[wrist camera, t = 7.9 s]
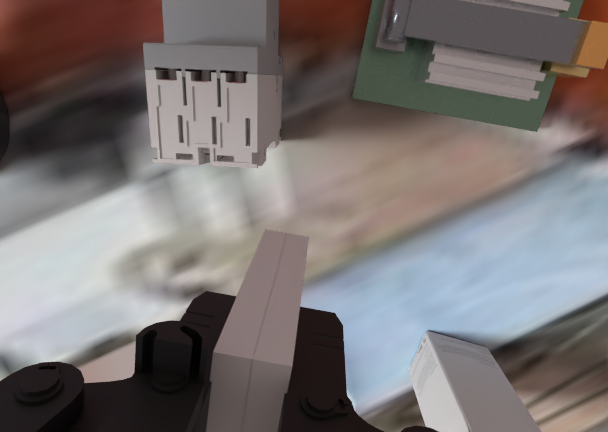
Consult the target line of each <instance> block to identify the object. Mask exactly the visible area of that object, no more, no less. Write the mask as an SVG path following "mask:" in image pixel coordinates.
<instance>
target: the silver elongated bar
mask: <svg viewBox="0 0 608 432" xmlns="http://www.w3.org/2000/svg"><path fill="white" fill-rule="evenodd" d="M405 37H408V38H413V39H419V40H425V41H431V42H436V43H442V44H448V45H454V46H459V47H465V48H471V49H476V50H482V51H488V52H494V53H499V54H505V55H511V56H517V57H522V58H528V59H534V60H540V61H545V62H551V63H557V64H563V65H568V66H574V67H580V68H585V69H591V70H594V69H604V67H605V64H606V61H607V59H608V23H604V22H598V21H588V22H587V21H581V20H575V19H569V18H563V17H557V16H551V15H545V14H539V13H533V12H527V11H521V10H515V9H509V8H503V7H497V6H491V5H485V4H479V3H473V2H467V1H461V0H392V4H391V9H390V13H389V18H388V23H387V27H386V32H385V36H384V40H385V41H389V42H394V43H404V40H405Z"/></svg>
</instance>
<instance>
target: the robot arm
mask: <svg viewBox="0 0 608 432" xmlns="http://www.w3.org/2000/svg"><path fill="white" fill-rule="evenodd" d="M8 137H9V120H8V113H7V109H6V106H5V102H4V100H3V97H2V95H1V93H0V159H1V158H2V156H3V154H4V152H5V149H6V146H7V143H8ZM308 240H309V237H305V236H300V235H294V234H289V233H283V232H278V231H273V230H267V229H265V231H264V233H263V236H262V238H261V240H260V243H259V245H258V247H257V250H256V252H255V255H254V257H253V259H252V262H251V264H250V266H249V269H248V271H247V273H246V276H245V278H244V280H243V283H242V285H241V288H240V290H239V292H238V295H237V297H236V296H231V295H225V294H220V293H214V292H209V291H206V292H204V293H203V294H201V295H200V296H198V297H196V298H195V299H193V301H192V302H191V304H190V305H189V307H188V309H187V310H186V313H185V314H184V315H183V317H182V318H181V320H180V321H165V322H159V323H155V324H153V325H151V326H148V327H146V328H144V329H143V330H142V331H141V332H140V333H139V334H137V335H136V354H135V373H134V374H133V376H132V377H130V378H127V379H124V380H118V381H111V382H99V383H84V378H83V376H82V373H81V371H80V370H79V369H77V368H76V367H74V366H73V365H71V364H66V363H62V362H44V363H39V364H35V365H31V366H28V367H25V368H23V369H21V370H19V371H17V372H15V373H13V374H11V375H9V376H8V377H6V378H5V379H3V380H1V381H0V432H384V431H382V430H379V429H377V428H375V427H374V426H372V425H370V424H368V423H367V422H366V421H364V420H363V419H362V418H361V417H360V416H358V414H357V413H356V412H355V411H354V408H353V405H352V402H351V400H350V399H349V398H348V397H347V392H346V374H345V356H344V341H343V338H344V337H343V325H342V323H341V322H340V320H339V319H338V317H337V316H336V314H335V313H332V312H326V311H321V310H315V309H310V308H304V307H300V303H301V295H302V287H303V279H304V272H305V264H306V256H307V248H308ZM401 432H439V431H437V430H434V429H432V428H429V427H423V426H412V427H407V428H404V429H403V430H402V431H401Z"/></svg>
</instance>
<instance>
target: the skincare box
mask: <svg viewBox="0 0 608 432" xmlns="http://www.w3.org/2000/svg"><path fill="white" fill-rule="evenodd" d="M408 372H409V375H410V378H411V381H412V385H413V388H414V391H415V394H416V397H417V400H418V403H419V406H420V410H421V413H422V416H423V419H424V422H425V425H426V427H429V428H432V429H434V430H437V431H439V432H541V430H540V429H539V427H538V425H537V424H536V422H535V421H534V419H533V418H532V416H531V415H530V413H529V412H528V410H527V408H526V407H525V405H524V404H523V402H522V401H521V399H520V398H519V396H518V395H517V393H516V392H515V390H514V388H513V387H512V385H511V384H510V382H509V381H508V379H507V378H506V376H505V375H504V373H503V372H502V370H501V368H500V367H499V365H498V364H497V362H496V361H495V359H494V358H493V356H492V354H491V353H490V351H489V350H488V348H487V347H483V346H480V345H476V344H473V343H469V342H466V341H462V340H459V339H455V338H452V337H448V336H444V335H441V334H437V333H433V332H430V331H426V333H425V335H424V337H423V339H422V341H421V343H420V346H419V348H418V350H417V352H416V354H415V357H414V359H413V361H412V363H411V365H410V368H409V370H408Z"/></svg>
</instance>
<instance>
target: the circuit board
mask: <svg viewBox="0 0 608 432" xmlns="http://www.w3.org/2000/svg"><path fill="white" fill-rule="evenodd" d="M461 1H467V2H473V3H479V4H485V5H491V6H497V7H503V8H509V9H515V10H521V11H527V12H533V13H539V14H545V15H551V16H557V17H563V18H569V19H575V20H581V19H577V18H578V15H579V12H580V9H581V7H582V4H583V1H584V0H461ZM391 4H392V0H371V3H370V8H369V13H368V18H367V23H366V28H365V33H364V38H363V43H362V48H361V53H360V58H359V63H358V68H357V73H356V77H355V82H354V87H353V92H352V98H354V99H360V100H365V101H371V102H376V103H382V104H387V105H393V106H398V107H404V108H409V109H415V110H420V111H426V112H431V113H437V114H442V115H448V116H453V117H459V118H464V119H470V120H475V121H481V122H486V123H492V124H497V125H503V126H508V127H514V128H519V129H525V130H530V131H536V132H537V131H538V128H539V125H540V122H541V120H542V117H543V114H544V111H545V108H546V105H547V103H548V100H549V97H550V94H551V91H552V89H553V86H554V83H555V80H556V78H587V75H588V73H589V70H590V69H585V68H580V67H574V66H568V65H563V64H557V63H551V62H545V61H540V60H534V59H528V58H522V57H517V56H511V55H505V54H499V53H494V52H488V51H482V50H476V49H471V48H465V47H459V46H454V45H448V44H442V43H436V42H431V41H425V40H419V39H413V38H408V37H405V40H404V43H394V42H389V41H385V40H384V36H385V32H386V27H387V23H388V18H389V13H390V9H391ZM581 21H586V20H581ZM587 22H588V21H587Z"/></svg>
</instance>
